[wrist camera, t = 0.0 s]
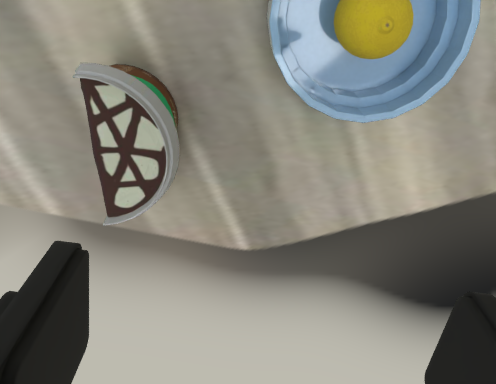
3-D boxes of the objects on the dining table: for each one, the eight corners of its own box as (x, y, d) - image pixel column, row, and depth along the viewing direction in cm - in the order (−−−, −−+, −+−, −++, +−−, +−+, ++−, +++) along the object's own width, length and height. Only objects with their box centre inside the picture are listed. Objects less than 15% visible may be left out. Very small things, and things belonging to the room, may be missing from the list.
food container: (196, 176, 44) (184, 228, 35) (133, 178, 44) (104, 231, 35) (184, 43, 38) (164, 64, 29) (111, 46, 39) (70, 68, 30)
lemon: (401, 34, 38) (437, 48, 31) (338, 60, 39) (359, 80, 32) (383, -34, 36) (418, -36, 29) (316, -4, 37) (334, 1, 29)
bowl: (285, -109, 34) (292, -122, 29) (480, -74, 35) (514, -81, 30) (254, 92, 40) (255, 107, 36) (418, 117, 41) (440, 134, 37)
